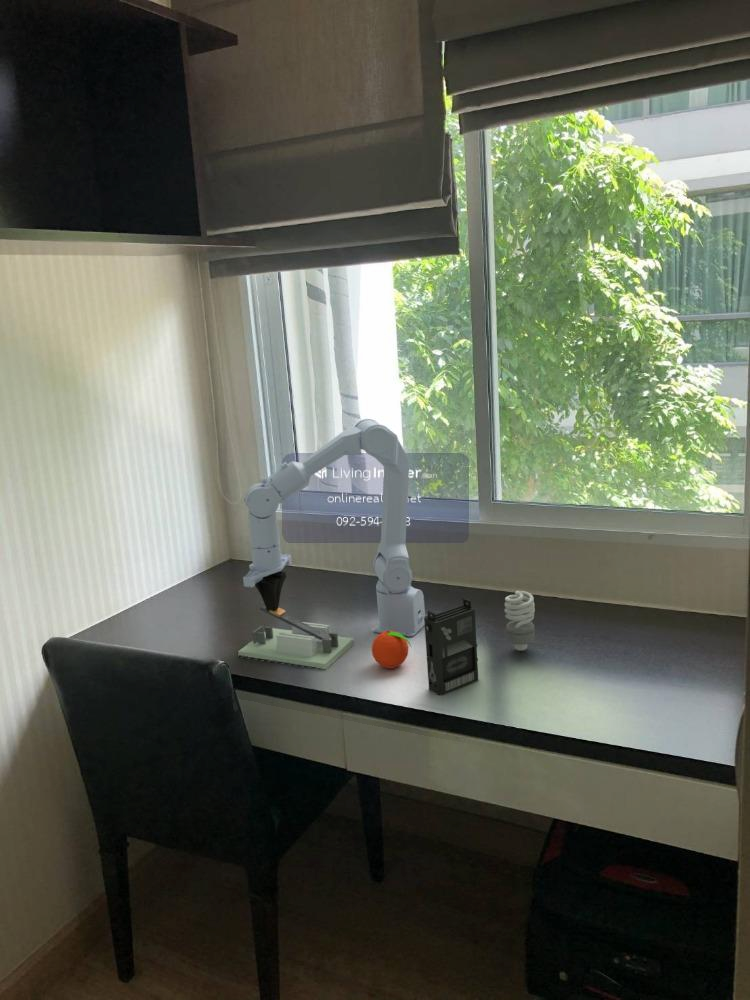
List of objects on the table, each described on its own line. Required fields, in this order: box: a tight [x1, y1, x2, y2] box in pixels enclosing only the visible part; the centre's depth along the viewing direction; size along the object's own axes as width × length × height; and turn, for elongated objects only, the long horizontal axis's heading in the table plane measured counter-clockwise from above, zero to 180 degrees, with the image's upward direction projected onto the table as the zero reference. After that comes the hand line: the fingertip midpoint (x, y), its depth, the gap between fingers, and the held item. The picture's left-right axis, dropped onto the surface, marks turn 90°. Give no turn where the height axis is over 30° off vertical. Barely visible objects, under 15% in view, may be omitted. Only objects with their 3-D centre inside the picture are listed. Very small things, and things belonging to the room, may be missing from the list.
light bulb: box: [504, 590, 536, 652], centre depth 153 cm, size 6×6×12 cm
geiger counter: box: [424, 597, 479, 696], centre depth 142 cm, size 10×4×15 cm, turn 123°
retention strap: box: [259, 603, 334, 642], centre depth 160 cm, size 16×2×1 cm, turn 66°
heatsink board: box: [237, 621, 355, 670], centre depth 162 cm, size 20×12×5 cm, turn 64°
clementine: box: [371, 631, 413, 669], centre depth 151 cm, size 8×7×7 cm
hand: (272, 608), depth 162 cm, fingers closed, pressing on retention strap
